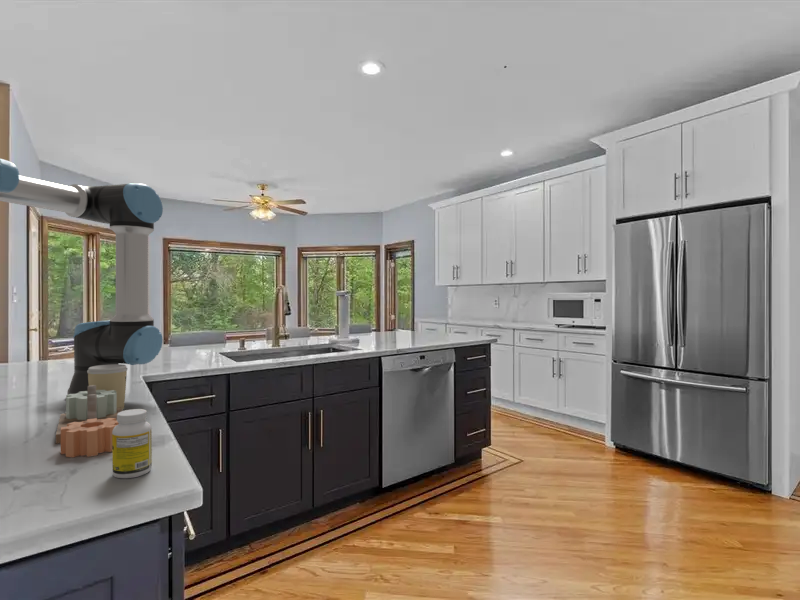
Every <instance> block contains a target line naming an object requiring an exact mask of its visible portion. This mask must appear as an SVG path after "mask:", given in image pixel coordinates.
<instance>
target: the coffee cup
mask: <svg viewBox="0 0 800 600" xmlns="http://www.w3.org/2000/svg"><path fill="white" fill-rule="evenodd" d="M127 372H128V367H127V364H121V363H119V364H110V365H98V366H92V367H89V368H88V370H87V373H88V383H89V386H91V385H96V390H105V391H110V390H114V391H116V393H117V408H122V411H124V410H125V402H126V401H125V400H126V389H127V377H128V376H127Z"/></svg>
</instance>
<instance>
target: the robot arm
mask: <svg viewBox="0 0 800 600" xmlns="http://www.w3.org/2000/svg"><path fill="white" fill-rule="evenodd" d="M0 202H4V203H8V204H16V205H21V206H27V207H34V208H39V209H46V210H50V211H55V212H60V213H65V214H66V215H67V216H69V217H71V218H76V219H82V220H87V221H92V222H94V223H95V222H96V223H101V224H107V225H109V229H111V231H112V232H114V234H115V314H114V316H112V317H111V318H109V320H97V321H87V322H82V323H81V322H80V323H78V324H76V325H75V327H74V332H73V361H74V365H73V367H74V368H73V369H74V371H73V375H72V377H71V380H70V384H69V387H68V389H67V391H66V392H67V394H66V395H69V394H76V393H78V392H82V391H88V386H89V383H88V373H87V370H88V368H89V367H92V366H98V365H110V364H121V365H130V366H135V365H146V364H149V363H151V362H153V360H155V358H156V357H157V356H158V355H159V353H161V352H160V351H161V350H162V346H163V340H164V339H163V335H162V332H160V329H159V328H157V327H156V326H154V325H155V324H154V323H155V321H154V318H153V317H152V316H151V315H150V314H149V236H150V235H151V234H152V233H153V232H154V231H155V223H157V222H158V221H160V218H162V215H163V212H164V211H163V210H164V208H163V203H162V202H163V201H162V199H161V198H160V196H159V194H158V193H157V192H156V190H155V189H154V188H152V187H151V186H149V185H148V184H145V183H134V182H130V183H124V184H123V183H121V184H120V183H119V184H109V185H107V184H106V185H96V186H95V185H93V186H91V185H90V186H88V185H81V184H80V185H79V184H75V183H74V184H70V185H69V186H68V185H65V184H60V183H56V182H51V181H47V180H42V179H38V178H34V177H29V176H24V175H20V171H19V169H18V167H17V165H16V164H15V163H13V162H11V161H9V160H7V159H3V158H2V157H1V158H0Z"/></svg>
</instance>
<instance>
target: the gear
mask: <svg viewBox="0 0 800 600" xmlns="http://www.w3.org/2000/svg"><path fill="white" fill-rule="evenodd" d="M96 394H97V418H101V417H106V415H108V414H115V413H116V412H117V393H116V391H114V390H110V391H105V390H96ZM87 395H88V391H82V392H78V393H76V394H69V395H67V394H66V395H65V396H66V397H65V413H66V418H67V419H73V418H77V419H78V420H86V419H87Z"/></svg>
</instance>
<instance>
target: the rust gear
mask: <svg viewBox="0 0 800 600" xmlns="http://www.w3.org/2000/svg"><path fill="white" fill-rule="evenodd" d="M118 424H119V423H118V422H117V421H116V418H107V419H98V420H97V418H94V419H87V421H82V422H72V423H69V424H67V427H61V443H60V455H65V457H66V458H77V457H79V456H86V458H88V457H89V458H90V457H95V456H96V457H97V456H98V454H103V453H105V452H107V453H111V452H112V431H113V429H114V427H115V426H117V425H118Z"/></svg>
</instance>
